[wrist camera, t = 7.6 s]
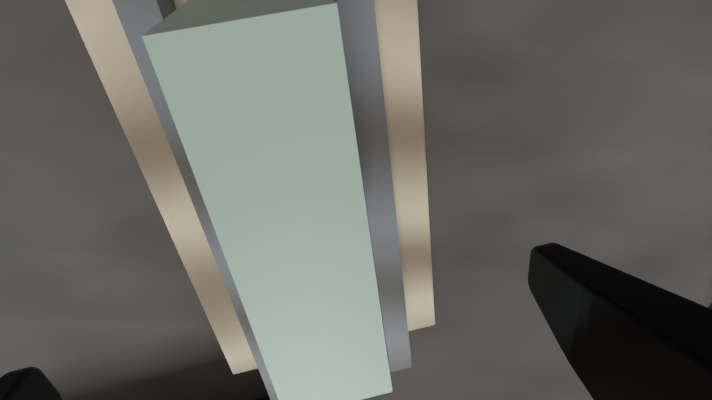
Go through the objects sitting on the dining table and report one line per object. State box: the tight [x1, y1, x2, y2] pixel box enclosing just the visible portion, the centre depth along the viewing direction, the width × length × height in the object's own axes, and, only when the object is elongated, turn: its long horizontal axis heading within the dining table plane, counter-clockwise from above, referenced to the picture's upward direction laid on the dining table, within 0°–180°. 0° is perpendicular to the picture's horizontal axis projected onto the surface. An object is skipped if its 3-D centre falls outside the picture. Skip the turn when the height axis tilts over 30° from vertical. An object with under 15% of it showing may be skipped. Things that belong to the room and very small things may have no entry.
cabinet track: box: [65, 0, 435, 400], centre depth 15 cm, size 22×10×3 cm, turn 8°
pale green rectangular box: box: [142, 0, 392, 400], centre depth 12 cm, size 10×3×7 cm, turn 8°
